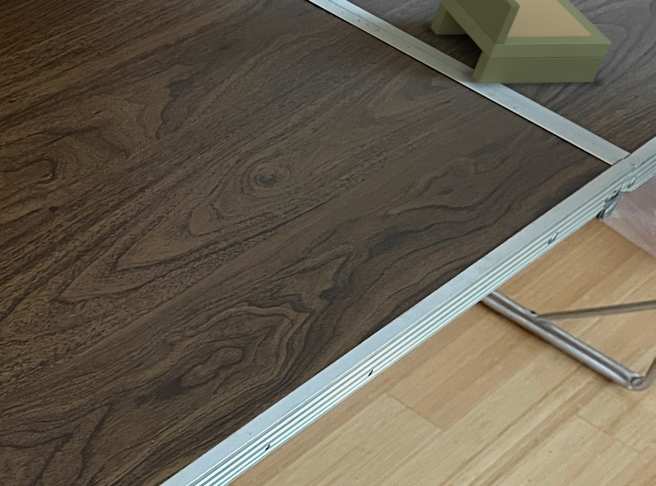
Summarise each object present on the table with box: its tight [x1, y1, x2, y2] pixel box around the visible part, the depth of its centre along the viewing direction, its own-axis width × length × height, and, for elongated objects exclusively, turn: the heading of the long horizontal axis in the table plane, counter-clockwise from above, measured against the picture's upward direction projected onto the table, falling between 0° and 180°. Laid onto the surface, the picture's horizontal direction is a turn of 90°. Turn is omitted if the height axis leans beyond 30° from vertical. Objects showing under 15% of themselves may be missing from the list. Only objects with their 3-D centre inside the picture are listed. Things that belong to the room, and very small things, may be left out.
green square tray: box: [430, 0, 612, 85], centre depth 102 cm, size 10×9×7 cm
